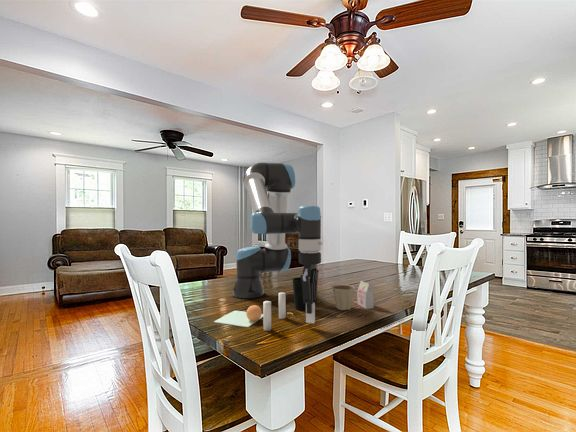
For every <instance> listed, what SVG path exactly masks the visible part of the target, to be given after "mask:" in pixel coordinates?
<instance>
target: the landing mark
mask: <svg viewBox="0 0 576 432" xmlns="http://www.w3.org/2000/svg"><path fill="white" fill-rule="evenodd" d="M246 312H247V311H244V310H243V311H241V310H233V311H231V312H229V313H227V314H225V315H224V316H222V317H220V318H218V319H216V320H214V321H213V323H216V324H221V325H222V324H223V325H230V326H237V327H243V328H249V327H251V326H252V325H253V324H255V323H257V322H258V321H259V320H261V319H263V313H262V315H261V317H260V319H259V320H257V321H251V320H249V319H248V318H247V315H246Z"/></svg>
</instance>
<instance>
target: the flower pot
mask: <svg viewBox="0 0 576 432" xmlns="http://www.w3.org/2000/svg"><path fill="white" fill-rule="evenodd" d="M331 289H332V292H333V297H334V304H335V308H336V309H337V310H339V311H347V310H348V311H349V310H351V309H352V303H353V297H354V295H353V294H354V292H355V289H356V287H355V286H353V285H349V284H336V285H335V284H334V285H331Z"/></svg>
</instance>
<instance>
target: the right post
mask: <svg viewBox="0 0 576 432" xmlns="http://www.w3.org/2000/svg"><path fill="white" fill-rule="evenodd" d="M286 300H287V299H286V292H284V291H283V292H278V319H280V320H281V319H283V320H284V319H286V317H287V314H286V313H287V312H286V306H287V305H286Z"/></svg>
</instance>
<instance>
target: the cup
mask: <svg viewBox="0 0 576 432" xmlns="http://www.w3.org/2000/svg"><path fill="white" fill-rule="evenodd" d="M291 281H292V290H293V300H294V308H295V310H296V311H306V303H303V292H302V282H301V276H300V277H292V279H291Z"/></svg>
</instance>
